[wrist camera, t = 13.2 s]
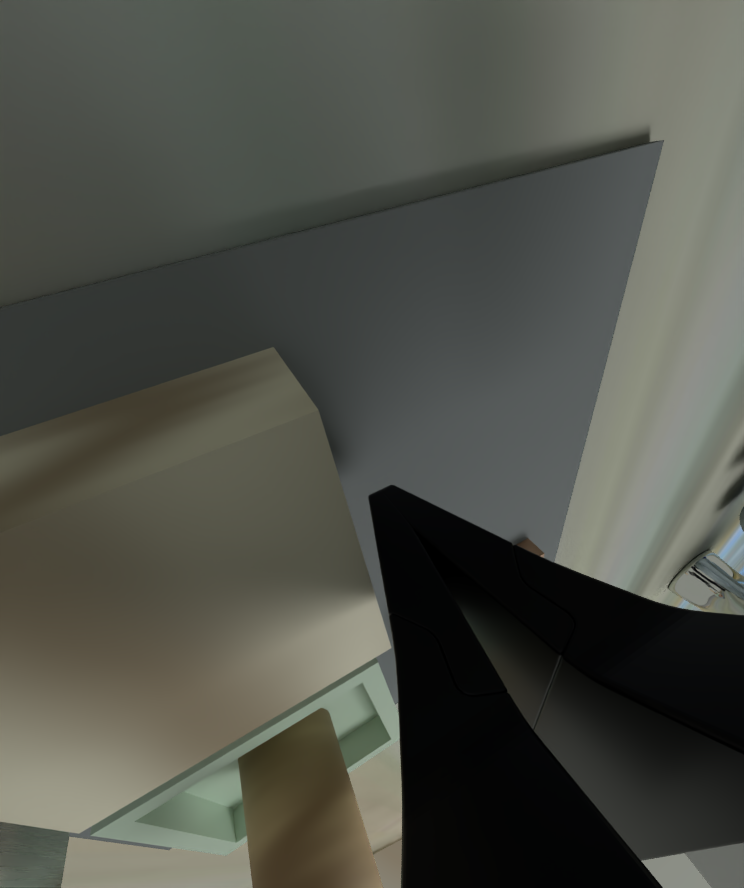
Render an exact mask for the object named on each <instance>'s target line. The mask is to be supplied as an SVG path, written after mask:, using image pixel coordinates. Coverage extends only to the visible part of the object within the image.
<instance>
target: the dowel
mask: <svg viewBox="0 0 744 888" xmlns="http://www.w3.org/2000/svg"><path fill="white" fill-rule="evenodd" d="M238 764H239V773H240V782H241V790H242V799H243V807H244V816H245V825H246V833H247V842H248V850H249V859H250V867H251V876H252V885H253V888H383V886H382V882H381V879H380V876H379V873H378V869H377V866H376V863H375V859H374V856H373V853H372V850H371V846H370V843H369V840H368V837H367V833H366V830H365V827H364V824H363V820H362V817H361V814H360V811H359V807H358V804H357V801H356V798H355V794H354V791H353V788H352V785H351V781H350V778H349V775H348V772H347V768H346V765H345V762H344V759H343V755H342V752H341V749H340V746H339V742H338V739H337V736H336V733H335V729H334V726H333V723H332V720H331V716H330V713H329V711H328V710H326V709H323V708H320V709H318V710H316V711H315V712H313V713H311V714H310V715H308V716H307V717H305V718H303V719H302V720H300V721H298V722H297V723H295V724H293V725H292V726H290V727H289V728H287V729H285V730H284V731H282V732H280V733H279V734H277V735H275V736H274V737H272V738H270V739H269V740H267V741H266V742H264V743H262V744H261V745H259V746H257V747H256V748H254V749H252V750H251V751H249V752H248V753H246V754H244V755H243V756H241V757H239V758H238Z"/></svg>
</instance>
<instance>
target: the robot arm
mask: <svg viewBox="0 0 744 888" xmlns="http://www.w3.org/2000/svg"><path fill="white" fill-rule="evenodd" d="M368 500H369V506H370V512H371V517H372V523H373V529H374V535H375V540H376V546H377V552H378V557H379V563H380V569H381V575H382V580H383V586H384V592H385V597H386V603H387V609H388V614H389V621H390V627H391V633H392V640H393V647H394V654H395V663H396V676H397V690H398V712H399V733H400V755H401V778H402V868H401V870H402V871H401V888H662V886H661V885H660V884H659V882H658V881H657V880H656V879H655V878H654V876H653V875H652V874H651V873H650V871H649V870H648V869H647V868H646V867H645V865H644V864H643V863H642V862H641V861H642V860H647V859H653V858H659V857H665V856H670V855H676V854H681V853H685V854H686V855H687V857H688V858H689V859H690V861H691V862H692V863H693V864H694V866H695V867H696V868H697V869H698V871H699V872H700V873H701V874H702V876H703V877H704V878H705V880H706V881H707V882H708V884H709V885H710V886H711V887H712V888H744V615H737V614H726V613H715V612H703V611H694V610H688V609H682V608H677V607H673V606H669V605H665V604H662V603H658V602H655V601H652V600H649V599H647V598H644V597H641V596H639V595H636V594H633V593H631V592H628V591H625V590H623V589H620V588H618V587H615V586H612V585H610V584H607V583H605V582H602V581H599V580H597V579H594V578H592V577H589V576H586V575H584V574H581V573H579V572H576V571H574V570H571V569H569V568H566V567H564V566H561V565H559V564H556V563H554V562H552V561H550V560H548V559H545V558H543V557H541V556H539V555H537V554H534V553H532V552H530V551H528V550H526V549H524V548H522V547H520V546H518V545H516V544H515V545H513V544H512V542H510V541H507V540H505V539H503V538H501V537H499V536H497V535H495V534H493V533H491V532H489V531H487V530H485V529H483V528H481V527H479V526H477V525H475V524H473V523H471V522H469V521H467V520H465V519H463V518H461V517H459V516H456V515H454V514H452V513H450V512H448V511H446V510H444V509H442V508H440V507H438V506H436V505H434V504H432V503H430V502H428V501H426V500H424V499H422V498H420V497H418V496H416V495H414V494H412V493H410V492H407V491H405V490H403V489H401V488H399V487H397V486H395V485H389V486H387V487H385V488H383V489H380V490H378V491H376V492H374V493H372V494H370V495H369V496H368Z"/></svg>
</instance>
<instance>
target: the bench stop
mask: <svg viewBox="0 0 744 888" xmlns="http://www.w3.org/2000/svg"><path fill="white" fill-rule="evenodd" d="M69 834H70V832H65V831H58V830H52V829H45V828H39V827H32V826H26V825H19V824H12V823H6V822H0V888H61V883H62V877H63V870H64V864H65V858H66V852H67V846H68V840H69Z"/></svg>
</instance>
